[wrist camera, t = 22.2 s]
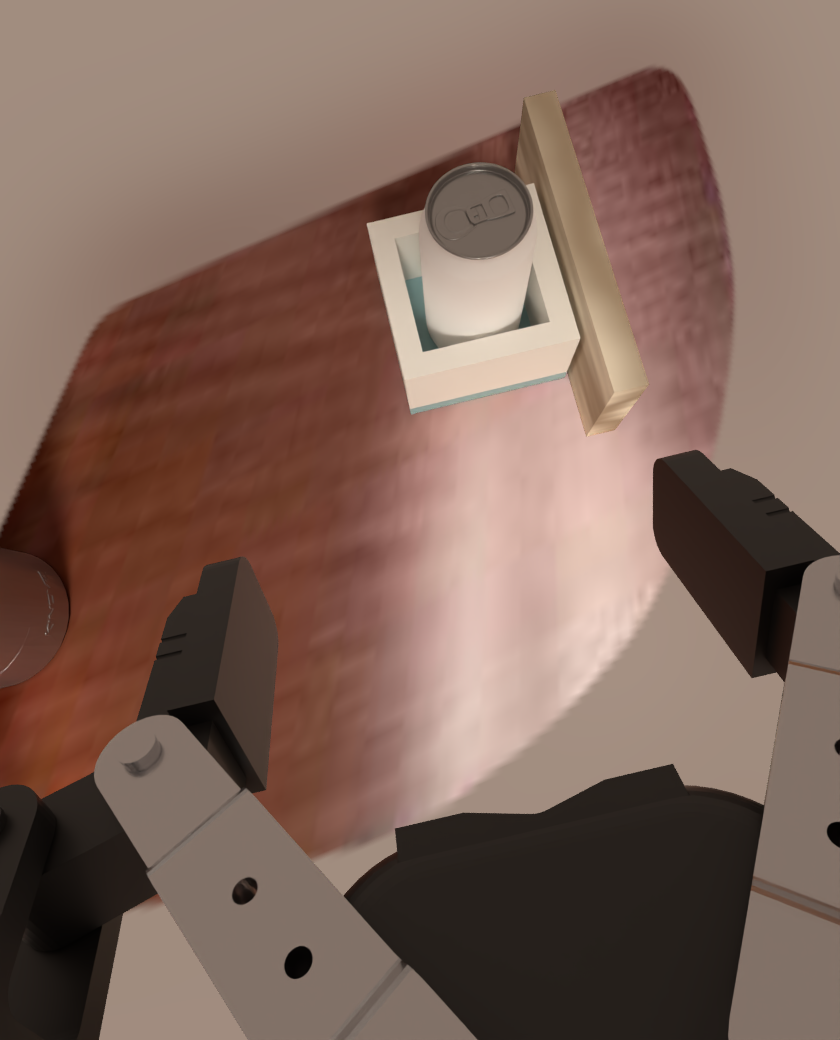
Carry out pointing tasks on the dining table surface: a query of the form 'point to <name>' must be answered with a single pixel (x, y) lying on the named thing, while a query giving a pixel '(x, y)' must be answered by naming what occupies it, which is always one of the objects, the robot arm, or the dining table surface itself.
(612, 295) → the stop board
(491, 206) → the can
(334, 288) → the dining table surface
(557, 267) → the socket block
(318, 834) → the dining table surface
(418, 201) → the dining table surface
